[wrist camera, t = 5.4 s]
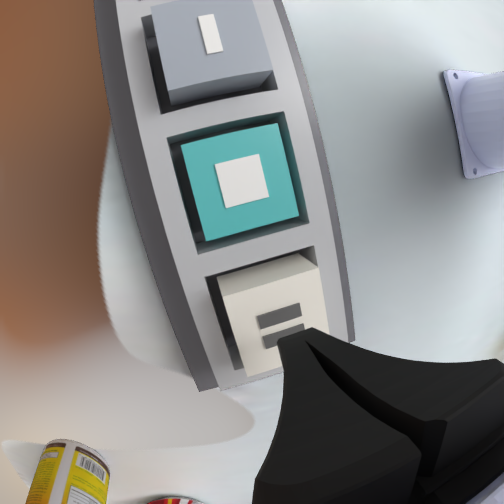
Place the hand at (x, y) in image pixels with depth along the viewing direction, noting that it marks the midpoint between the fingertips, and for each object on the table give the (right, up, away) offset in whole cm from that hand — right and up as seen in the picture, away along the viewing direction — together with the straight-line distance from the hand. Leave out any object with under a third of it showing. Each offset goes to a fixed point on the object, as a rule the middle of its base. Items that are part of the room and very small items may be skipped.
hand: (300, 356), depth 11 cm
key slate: (-4, +12, +2) cm, 13 cm away
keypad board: (-3, +10, +4) cm, 11 cm away
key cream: (-1, +1, +5) cm, 5 cm away
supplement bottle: (-15, -12, +7) cm, 21 cm away
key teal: (-3, +7, +4) cm, 9 cm away
